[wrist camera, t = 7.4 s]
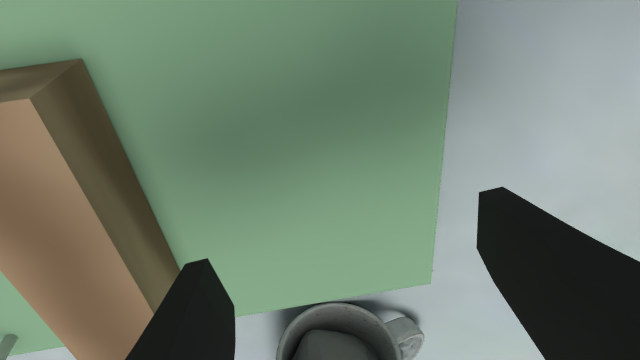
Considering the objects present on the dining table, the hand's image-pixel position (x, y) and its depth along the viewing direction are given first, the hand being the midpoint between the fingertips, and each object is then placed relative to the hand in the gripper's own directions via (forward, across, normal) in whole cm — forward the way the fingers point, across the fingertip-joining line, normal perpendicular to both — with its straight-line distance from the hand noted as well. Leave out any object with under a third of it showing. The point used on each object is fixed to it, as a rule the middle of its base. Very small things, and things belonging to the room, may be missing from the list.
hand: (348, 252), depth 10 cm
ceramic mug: (+10, +2, +18) cm, 20 cm away
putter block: (+7, +10, +1) cm, 12 cm away
